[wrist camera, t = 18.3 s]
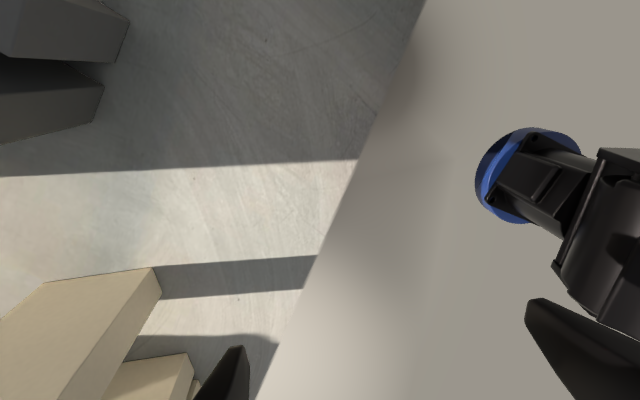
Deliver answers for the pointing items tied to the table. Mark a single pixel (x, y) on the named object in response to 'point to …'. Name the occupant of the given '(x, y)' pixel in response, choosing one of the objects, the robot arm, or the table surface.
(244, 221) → the table surface
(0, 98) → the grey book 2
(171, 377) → the beige upright block
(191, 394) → the beige flat block
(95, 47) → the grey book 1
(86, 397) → the small cream white box
